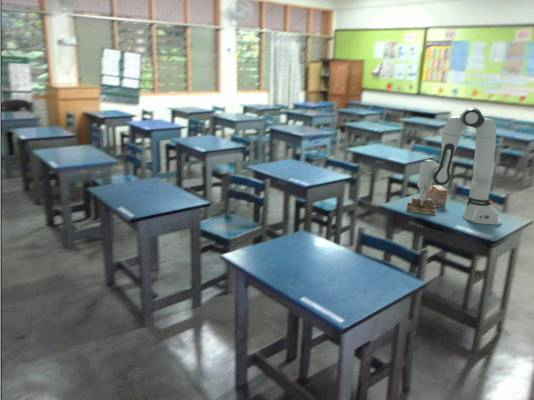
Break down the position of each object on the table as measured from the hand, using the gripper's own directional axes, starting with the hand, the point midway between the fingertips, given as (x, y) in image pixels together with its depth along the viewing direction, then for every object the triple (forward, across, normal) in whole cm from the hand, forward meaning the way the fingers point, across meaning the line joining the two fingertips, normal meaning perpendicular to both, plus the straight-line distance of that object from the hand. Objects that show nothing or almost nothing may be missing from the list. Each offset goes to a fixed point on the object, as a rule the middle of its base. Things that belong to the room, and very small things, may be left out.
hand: (421, 203), depth 294 cm
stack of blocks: (+5, +25, -9) cm, 27 cm away
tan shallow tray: (+5, 0, 0) cm, 5 cm away
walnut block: (+2, 0, 0) cm, 2 cm away
